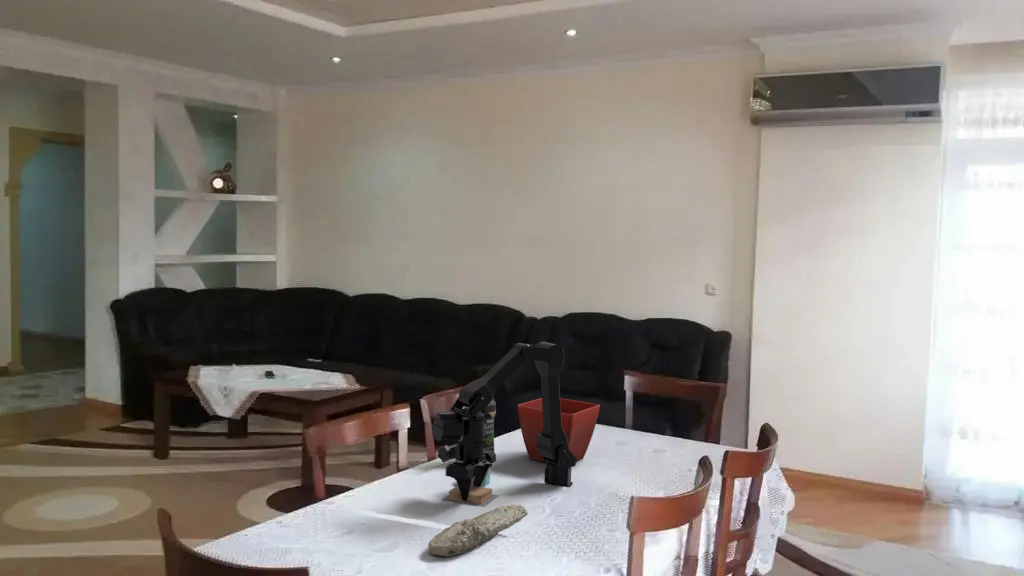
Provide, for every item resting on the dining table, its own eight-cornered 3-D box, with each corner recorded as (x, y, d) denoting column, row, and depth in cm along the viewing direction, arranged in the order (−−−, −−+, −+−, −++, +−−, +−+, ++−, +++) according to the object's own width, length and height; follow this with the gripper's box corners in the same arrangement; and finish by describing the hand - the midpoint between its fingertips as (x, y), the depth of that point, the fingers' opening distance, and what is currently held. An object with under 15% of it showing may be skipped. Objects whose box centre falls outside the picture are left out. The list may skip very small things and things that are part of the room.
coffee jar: (476, 465, 251) (478, 403, 250) (457, 459, 257) (459, 398, 255) (499, 459, 258) (501, 398, 257) (480, 454, 264) (482, 394, 262)
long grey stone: (537, 524, 207) (503, 518, 212) (538, 503, 207) (503, 497, 212) (454, 562, 177) (416, 554, 182) (454, 537, 177) (416, 529, 183)
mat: (499, 499, 220) (499, 495, 220) (484, 510, 211) (484, 506, 211) (457, 492, 225) (457, 488, 225) (440, 503, 216) (440, 499, 215)
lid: (492, 496, 220) (492, 488, 219) (481, 504, 213) (481, 496, 213) (460, 491, 223) (460, 483, 223) (448, 498, 216) (448, 491, 216)
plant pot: (599, 457, 264) (601, 404, 263) (569, 471, 248) (571, 414, 247) (545, 447, 274) (547, 395, 273) (514, 460, 258) (515, 405, 257)
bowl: (492, 484, 233) (493, 470, 232) (482, 492, 226) (482, 477, 226) (468, 481, 235) (469, 466, 235) (457, 488, 229) (457, 473, 228)
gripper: (459, 425, 228) (457, 482, 229) (427, 440, 211) (425, 502, 212) (497, 429, 224) (495, 488, 225) (468, 445, 207) (466, 508, 208)
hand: (470, 496), depth 218 cm, fingers closed on lid, 7 cm apart
